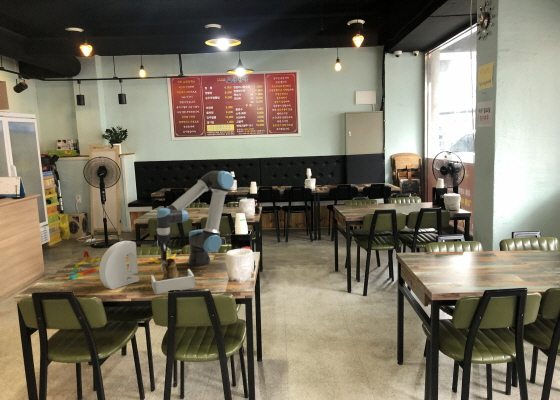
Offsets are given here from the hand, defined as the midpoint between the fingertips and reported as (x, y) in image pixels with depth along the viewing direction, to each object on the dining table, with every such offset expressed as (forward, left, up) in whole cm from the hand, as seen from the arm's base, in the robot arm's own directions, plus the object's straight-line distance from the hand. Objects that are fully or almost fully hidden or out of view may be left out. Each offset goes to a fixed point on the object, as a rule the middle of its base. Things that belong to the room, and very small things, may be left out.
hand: (163, 271), depth 262 cm
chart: (+42, -38, -5) cm, 57 cm away
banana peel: (-3, -39, -5) cm, 39 cm away
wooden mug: (-2, +5, -4) cm, 6 cm away
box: (-2, +20, -4) cm, 21 cm away
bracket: (+26, 0, -5) cm, 26 cm away
